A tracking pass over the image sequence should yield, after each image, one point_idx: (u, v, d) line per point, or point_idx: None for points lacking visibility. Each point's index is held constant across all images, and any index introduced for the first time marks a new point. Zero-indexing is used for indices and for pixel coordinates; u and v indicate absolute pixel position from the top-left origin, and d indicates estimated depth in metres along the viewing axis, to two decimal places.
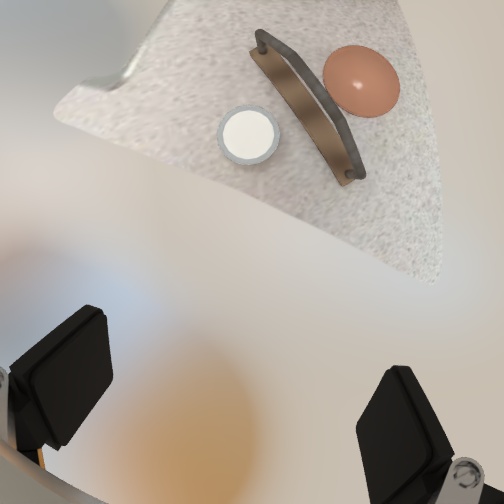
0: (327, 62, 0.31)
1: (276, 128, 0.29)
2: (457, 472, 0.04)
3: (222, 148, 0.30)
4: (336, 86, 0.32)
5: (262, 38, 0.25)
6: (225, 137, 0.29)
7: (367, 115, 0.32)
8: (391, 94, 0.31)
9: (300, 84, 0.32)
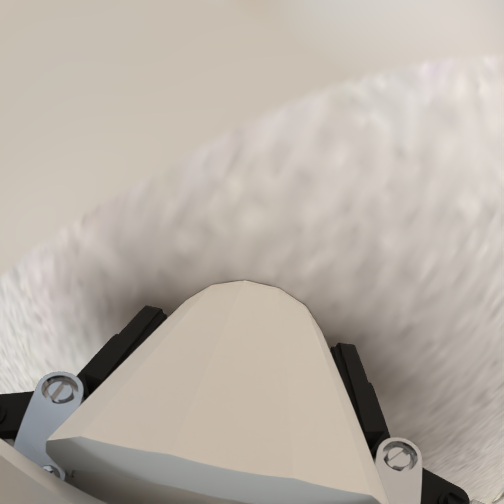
0: None
1: None
2: (387, 455, 0.04)
3: (241, 482, 0.02)
4: None
5: None
6: None
7: None
8: None
9: None
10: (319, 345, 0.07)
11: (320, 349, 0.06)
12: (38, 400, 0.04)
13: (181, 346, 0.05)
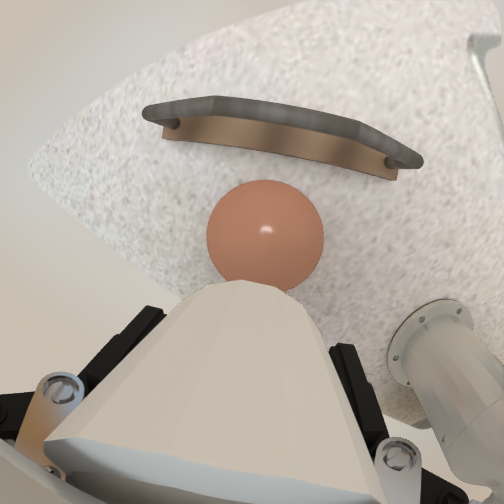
0: (317, 217, 0.26)
1: None
2: (387, 454, 0.04)
3: (238, 481, 0.02)
4: (281, 197, 0.26)
5: (408, 148, 0.16)
6: None
7: (220, 202, 0.26)
8: (222, 257, 0.28)
9: (316, 156, 0.24)
10: (316, 344, 0.07)
11: (317, 348, 0.06)
12: (39, 400, 0.04)
13: (178, 346, 0.05)
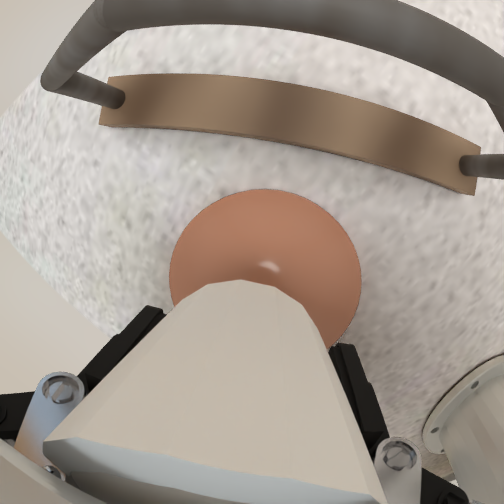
0: (353, 254, 0.15)
1: None
2: (387, 455, 0.04)
3: (238, 482, 0.02)
4: (294, 220, 0.15)
5: None
6: None
7: (188, 228, 0.15)
8: None
9: (356, 149, 0.13)
10: (316, 344, 0.07)
11: (317, 348, 0.06)
12: (39, 400, 0.04)
13: (177, 346, 0.05)
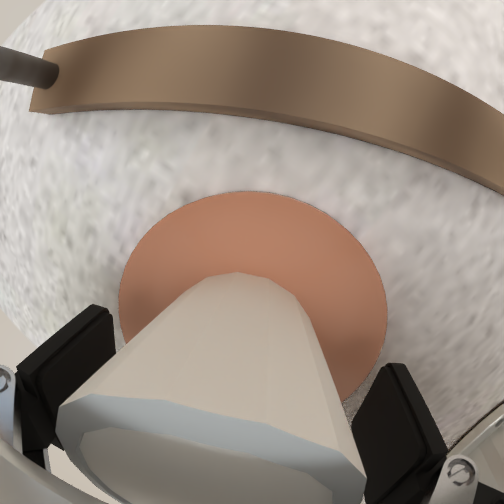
0: (378, 288, 0.10)
1: None
2: (451, 470, 0.04)
3: (222, 426, 0.03)
4: (292, 239, 0.10)
5: None
6: (272, 467, 0.03)
7: (137, 250, 0.10)
8: None
9: (389, 130, 0.08)
10: (303, 327, 0.07)
11: (303, 331, 0.07)
12: None
13: (178, 324, 0.06)
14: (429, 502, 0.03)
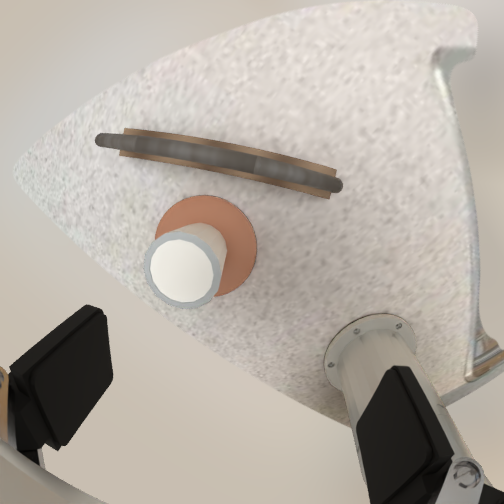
0: (250, 230, 0.29)
1: (165, 299, 0.24)
2: (457, 472, 0.04)
3: (188, 236, 0.22)
4: (218, 212, 0.29)
5: (322, 174, 0.20)
6: (197, 249, 0.23)
7: (166, 214, 0.29)
8: None
9: (250, 176, 0.27)
10: (215, 235, 0.27)
11: (215, 236, 0.26)
12: None
13: (181, 228, 0.25)
14: None
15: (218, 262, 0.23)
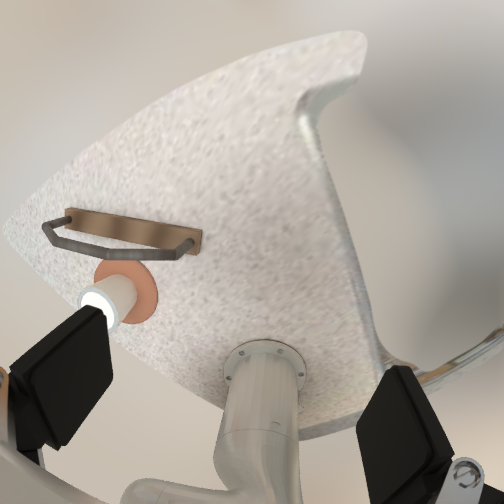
0: (149, 279, 0.38)
1: None
2: (457, 472, 0.04)
3: (96, 290, 0.32)
4: (127, 266, 0.38)
5: (159, 251, 0.29)
6: (102, 298, 0.32)
7: (97, 268, 0.39)
8: None
9: (141, 242, 0.36)
10: (122, 285, 0.36)
11: (121, 285, 0.36)
12: None
13: (99, 282, 0.34)
14: None
15: (115, 306, 0.32)
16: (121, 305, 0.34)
